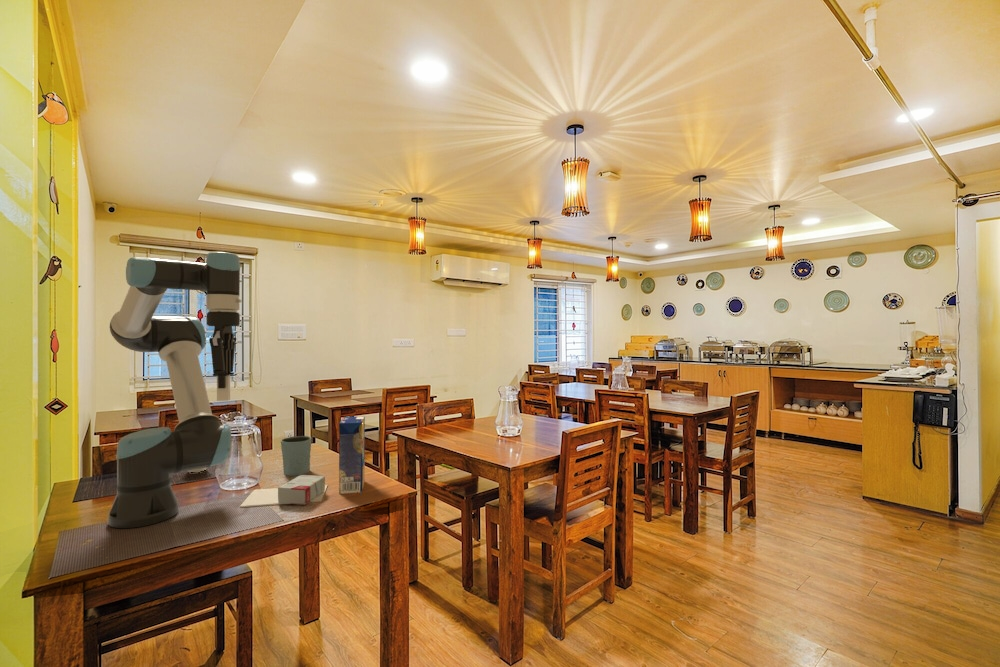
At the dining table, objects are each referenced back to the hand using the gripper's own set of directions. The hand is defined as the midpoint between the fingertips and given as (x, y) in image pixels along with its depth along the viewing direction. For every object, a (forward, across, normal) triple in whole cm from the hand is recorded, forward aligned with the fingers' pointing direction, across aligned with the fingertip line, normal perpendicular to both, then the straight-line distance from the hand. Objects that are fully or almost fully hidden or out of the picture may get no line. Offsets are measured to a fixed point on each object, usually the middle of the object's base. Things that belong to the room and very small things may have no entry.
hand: (223, 400), depth 123 cm
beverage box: (+33, +21, -31) cm, 50 cm away
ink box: (+30, +8, -15) cm, 34 cm away
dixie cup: (+33, +51, +25) cm, 65 cm away
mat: (+32, +17, -12) cm, 39 cm away
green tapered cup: (+33, +42, -10) cm, 54 cm away
